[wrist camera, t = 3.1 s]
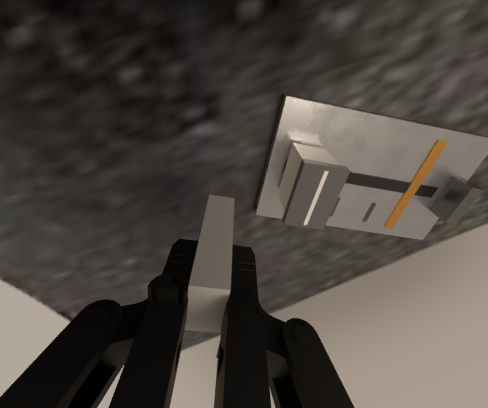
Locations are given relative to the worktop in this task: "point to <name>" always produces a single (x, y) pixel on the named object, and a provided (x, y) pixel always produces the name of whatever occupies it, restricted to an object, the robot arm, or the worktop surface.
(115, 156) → the worktop surface
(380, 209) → the panel
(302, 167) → the fader
